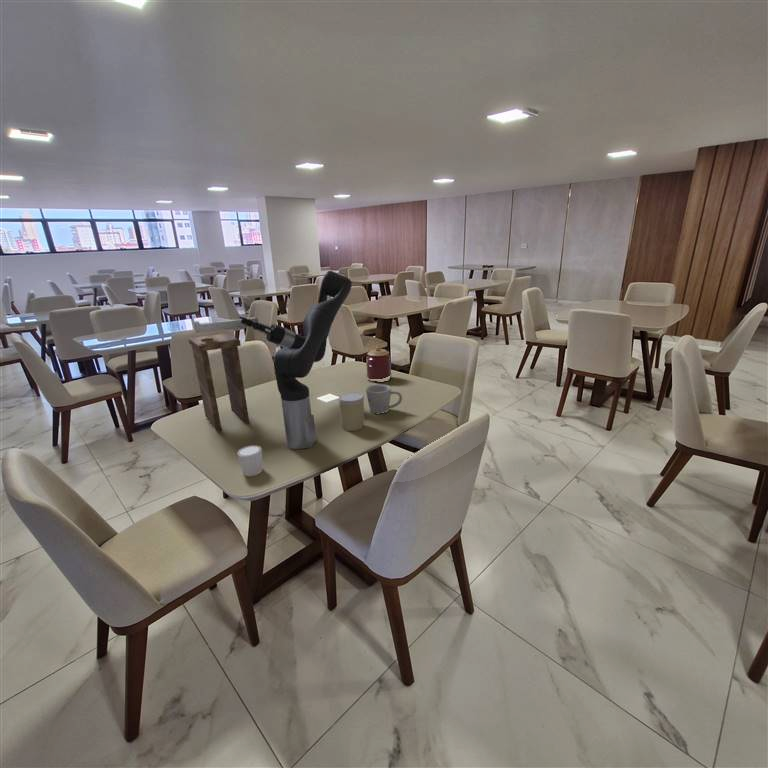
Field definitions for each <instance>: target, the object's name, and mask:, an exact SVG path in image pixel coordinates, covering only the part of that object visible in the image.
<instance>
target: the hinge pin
mask: <svg viewBox="0 0 768 768" xmlns="http://www.w3.org/2000/svg"><path fill="white" fill-rule="evenodd" d="M245 318H246V319H249V320H251V321H255V322H259V318H258V317H255V316H254V317H245ZM241 321H242V319H239V318H238V319H237V318H235V319H230V320H229V319H227V320H221V321H211V322H203V323H200V321H199V320H193V322H192V323H193V326H194V331H195V333H196V334H198V335H199V334H205V333H212V332H213V333H214V332H220V331H227V330H235V329H236V330H237V329H244V328H251V327H250V326H248V325H245V324H243V323H241Z"/></svg>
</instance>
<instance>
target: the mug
mask: <svg viewBox="0 0 768 768" xmlns="http://www.w3.org/2000/svg"><path fill="white" fill-rule="evenodd" d="M365 392H366V396H367V397H366V398H367V401H368V406H369V412H370V413H371V412H374V413H382V412H385V411H387V410H388V409H389V410H390V409H393V408H396V407H397V406H399V405H400V404H401V403H402V401H403V396H402V394H401V393H400V391H395V390H393V391H392V387H391V386H390V385H387V384H381V383H380V384H372V385H369V386H367V387H365ZM393 394H394V395H398V396H399V399H398V400H397V402H395V403H394V404H392V405H390V401H391V395H393ZM374 413H373V414H374Z"/></svg>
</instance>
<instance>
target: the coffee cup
mask: <svg viewBox="0 0 768 768" xmlns="http://www.w3.org/2000/svg"><path fill="white" fill-rule="evenodd" d="M364 400H365V398H364V395H363V394H362V393H357V392H347V393H343V394H341V395H339V397H338V400H337V401H338V403H339V405H338V406H339V411H340V412H339V413H340V419H341V425H342V429H343V430H345V431H347V432H357V431H360V430H362V429H363V428H362V427H364V411H365V410H364V407H365V405H364V402H365V401H364ZM359 429H360V430H359Z"/></svg>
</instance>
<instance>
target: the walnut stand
mask: <svg viewBox="0 0 768 768" xmlns="http://www.w3.org/2000/svg"><path fill="white" fill-rule="evenodd" d="M188 342H189V343H188V344H189V345H191V349H192V355H193V359H194V365H195V369H196V375H197V379H198V380H197V381H198V385H199V389H200V395H201V400H202V406H203V410H204V416H205V418H206V417H207V418H206V420H207V421H208V420H209V421H210V422H209V421H208V422H209V424H210V425H211V424H212V425H211V426H212V427H213V429H214V428H215V429H214V430H215V431H216V432H218V430H219V431H222V423H221V417H220V412H219V405H218V401H217V397H216V392H215V385H214V379H213V375H212V369H211V363H210V359H209V352H208V351H215V350H221V356H222V357H221V358H222V361H223V362H222V363H223V368H224V375H225V379H226V385H227V391H228V398H229V402H230V403H229V404H230V408H231V412H232V411H233V412H234V413H235V414H236V415H237V416H238V417H239V418H240V419H241V420H240V421H241V422H242V423H243V424H244V423H245V424H248V422H249V423H250V418H249V411H248V405H247V399H246V392H245V386H244V380H243V379H244V378H243V374H242V367H241V360H240V355H239V349H238V348H239V347H240V346H241V340H240V339H239V338H236V337H234V336H232V335H230V334H227V333H219V334H210V335H204V336H197V337H188ZM233 412H232V413H233ZM234 413H233V414H234ZM235 414H234V415H235ZM236 415H235V416H236ZM237 416H236V417H237ZM238 417H237V418H238ZM239 418H238V419H239Z"/></svg>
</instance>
